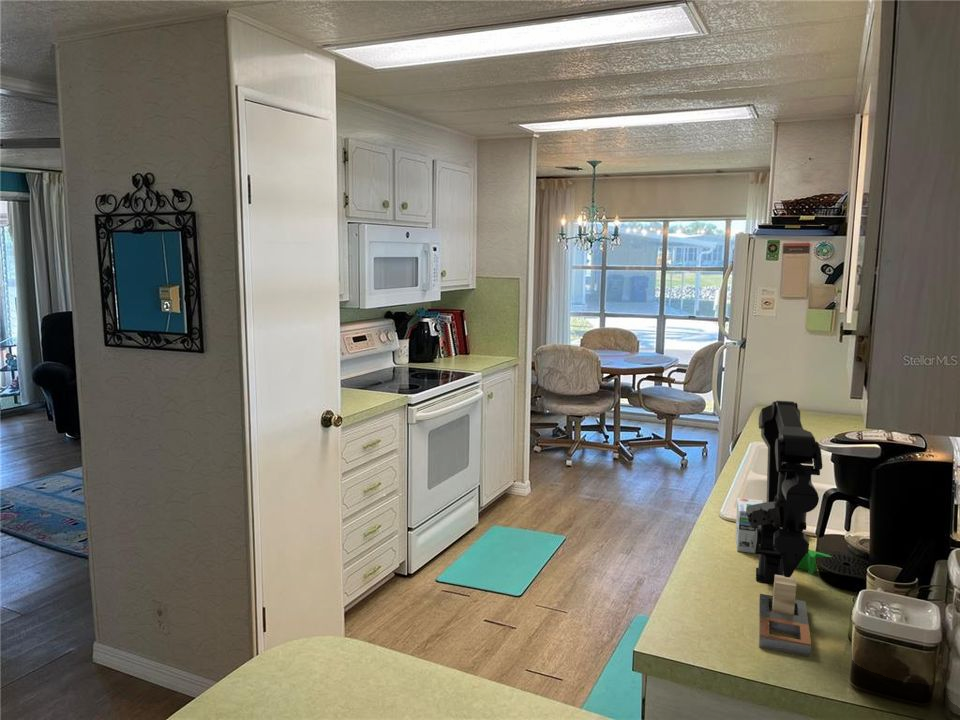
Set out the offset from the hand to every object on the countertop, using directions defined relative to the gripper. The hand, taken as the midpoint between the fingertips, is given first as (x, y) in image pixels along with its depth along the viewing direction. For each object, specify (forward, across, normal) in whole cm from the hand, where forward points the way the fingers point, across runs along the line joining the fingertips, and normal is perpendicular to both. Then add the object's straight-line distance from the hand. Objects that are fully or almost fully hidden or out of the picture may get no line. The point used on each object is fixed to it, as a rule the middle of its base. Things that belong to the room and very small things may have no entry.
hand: (786, 567), depth 149 cm
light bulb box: (+11, -36, -7) cm, 38 cm away
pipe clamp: (+11, -26, +5) cm, 29 cm away
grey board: (+11, +5, 0) cm, 12 cm away
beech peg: (+11, 0, 0) cm, 11 cm away
